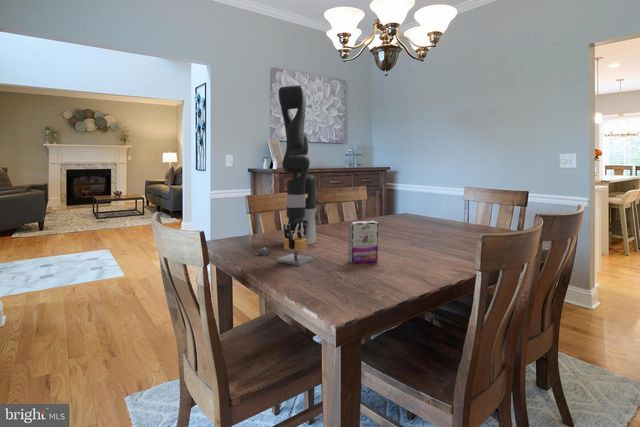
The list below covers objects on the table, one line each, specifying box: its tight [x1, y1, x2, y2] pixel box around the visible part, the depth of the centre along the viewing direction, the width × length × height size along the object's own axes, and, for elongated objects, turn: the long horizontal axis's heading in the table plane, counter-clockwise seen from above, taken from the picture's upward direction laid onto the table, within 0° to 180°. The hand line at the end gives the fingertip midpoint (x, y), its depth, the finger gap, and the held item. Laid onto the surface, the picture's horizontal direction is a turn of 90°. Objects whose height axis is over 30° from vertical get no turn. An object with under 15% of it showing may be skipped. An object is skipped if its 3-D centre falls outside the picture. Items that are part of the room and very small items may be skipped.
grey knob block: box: [257, 247, 270, 257], centre depth 160 cm, size 4×3×3 cm
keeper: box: [277, 250, 315, 267], centre depth 150 cm, size 10×11×6 cm
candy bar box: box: [347, 220, 379, 265], centre depth 149 cm, size 11×5×16 cm, turn 105°
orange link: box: [283, 237, 309, 252], centre depth 149 cm, size 5×8×4 cm, turn 59°
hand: (295, 247), depth 150 cm, fingers closed on orange link, 5 cm apart
